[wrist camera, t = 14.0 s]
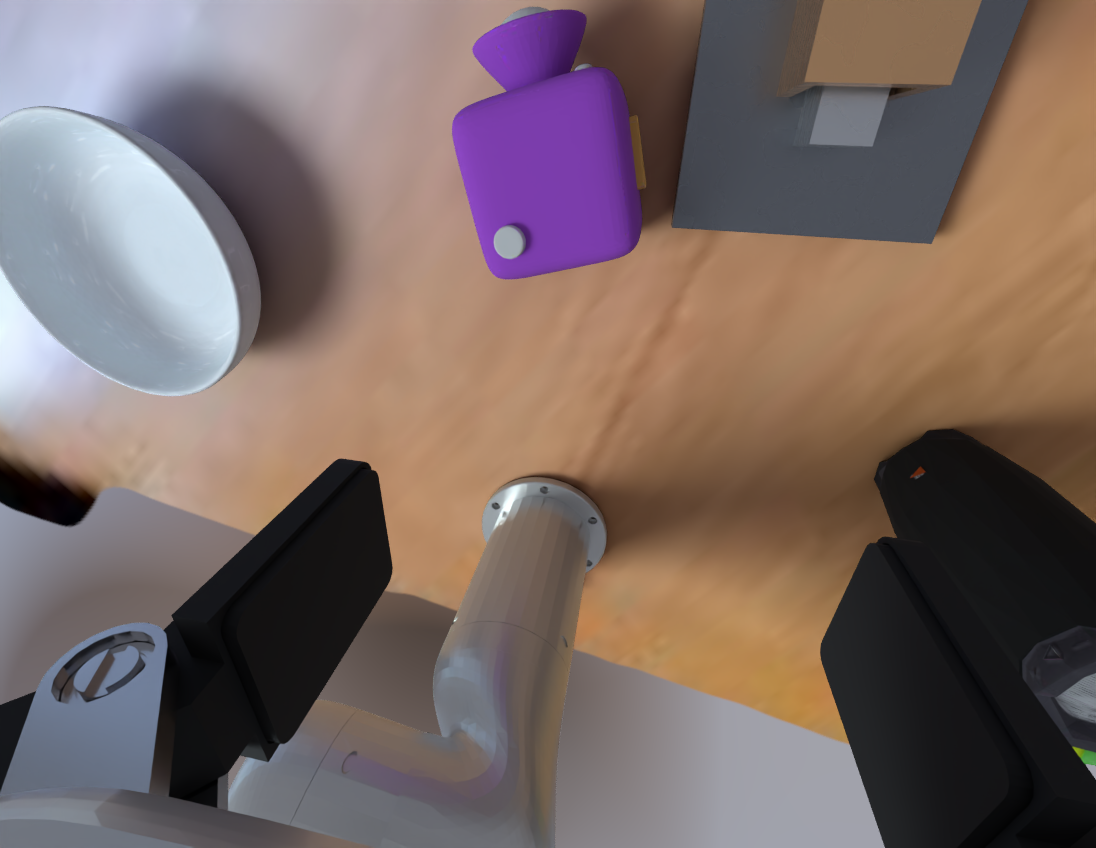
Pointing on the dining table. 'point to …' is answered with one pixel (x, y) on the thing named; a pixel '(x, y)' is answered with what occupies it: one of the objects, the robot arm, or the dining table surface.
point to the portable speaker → (1008, 562)
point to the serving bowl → (123, 252)
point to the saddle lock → (876, 44)
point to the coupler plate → (817, 179)
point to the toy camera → (549, 151)
